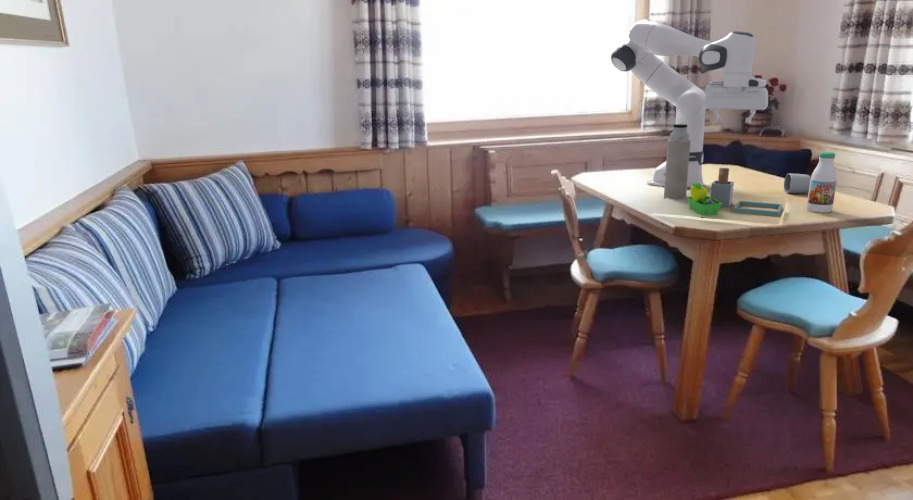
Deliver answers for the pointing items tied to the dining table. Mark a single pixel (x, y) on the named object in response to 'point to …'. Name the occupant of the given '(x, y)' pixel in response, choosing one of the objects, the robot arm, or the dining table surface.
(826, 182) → the milk bottle
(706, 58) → the robot arm
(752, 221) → the dining table surface
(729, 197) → the pen cup
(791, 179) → the ceramic mug
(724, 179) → the dowel pin
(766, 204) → the tray
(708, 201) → the fruit basket
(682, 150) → the thermos bottle
